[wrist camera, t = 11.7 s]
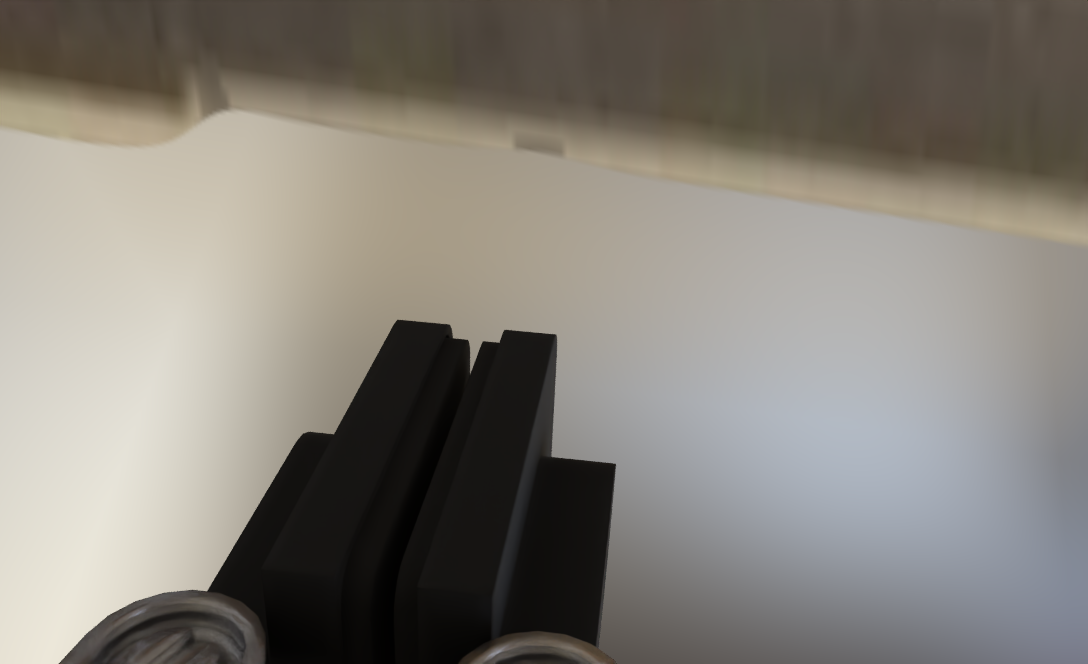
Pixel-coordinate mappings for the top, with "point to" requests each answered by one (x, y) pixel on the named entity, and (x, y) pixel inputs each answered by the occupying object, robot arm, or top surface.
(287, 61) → the top surface
